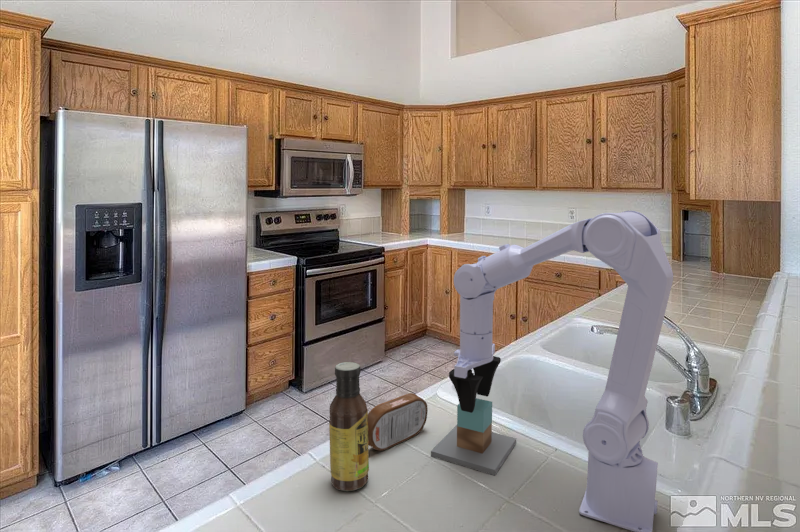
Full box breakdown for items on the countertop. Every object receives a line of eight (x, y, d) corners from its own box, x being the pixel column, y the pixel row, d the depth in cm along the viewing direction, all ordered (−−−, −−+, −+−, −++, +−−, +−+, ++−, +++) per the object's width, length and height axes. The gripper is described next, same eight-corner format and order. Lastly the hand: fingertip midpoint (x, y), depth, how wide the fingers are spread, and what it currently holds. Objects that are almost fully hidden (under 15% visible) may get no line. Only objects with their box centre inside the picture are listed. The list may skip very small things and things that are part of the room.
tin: (419, 425, 97) (419, 386, 96) (430, 431, 95) (430, 391, 93) (360, 452, 87) (359, 409, 86) (371, 459, 85) (370, 415, 84)
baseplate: (516, 443, 90) (516, 438, 90) (494, 475, 80) (494, 469, 79) (457, 428, 96) (457, 423, 96) (430, 456, 86) (430, 451, 85)
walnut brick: (491, 442, 88) (491, 422, 88) (482, 453, 84) (482, 432, 84) (466, 435, 91) (466, 415, 90) (456, 446, 87) (456, 425, 86)
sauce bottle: (366, 494, 75) (363, 374, 72) (327, 493, 75) (323, 373, 72) (371, 471, 81) (369, 359, 78) (335, 470, 82) (331, 359, 79)
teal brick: (491, 422, 88) (492, 401, 87) (483, 432, 84) (483, 411, 83) (466, 416, 90) (466, 396, 89) (457, 426, 86) (457, 405, 86)
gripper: (470, 318, 92) (470, 384, 94) (437, 337, 80) (438, 413, 82) (506, 322, 89) (504, 391, 91) (477, 343, 77) (476, 422, 79)
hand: (475, 402), depth 86 cm, fingers open, 7 cm apart
